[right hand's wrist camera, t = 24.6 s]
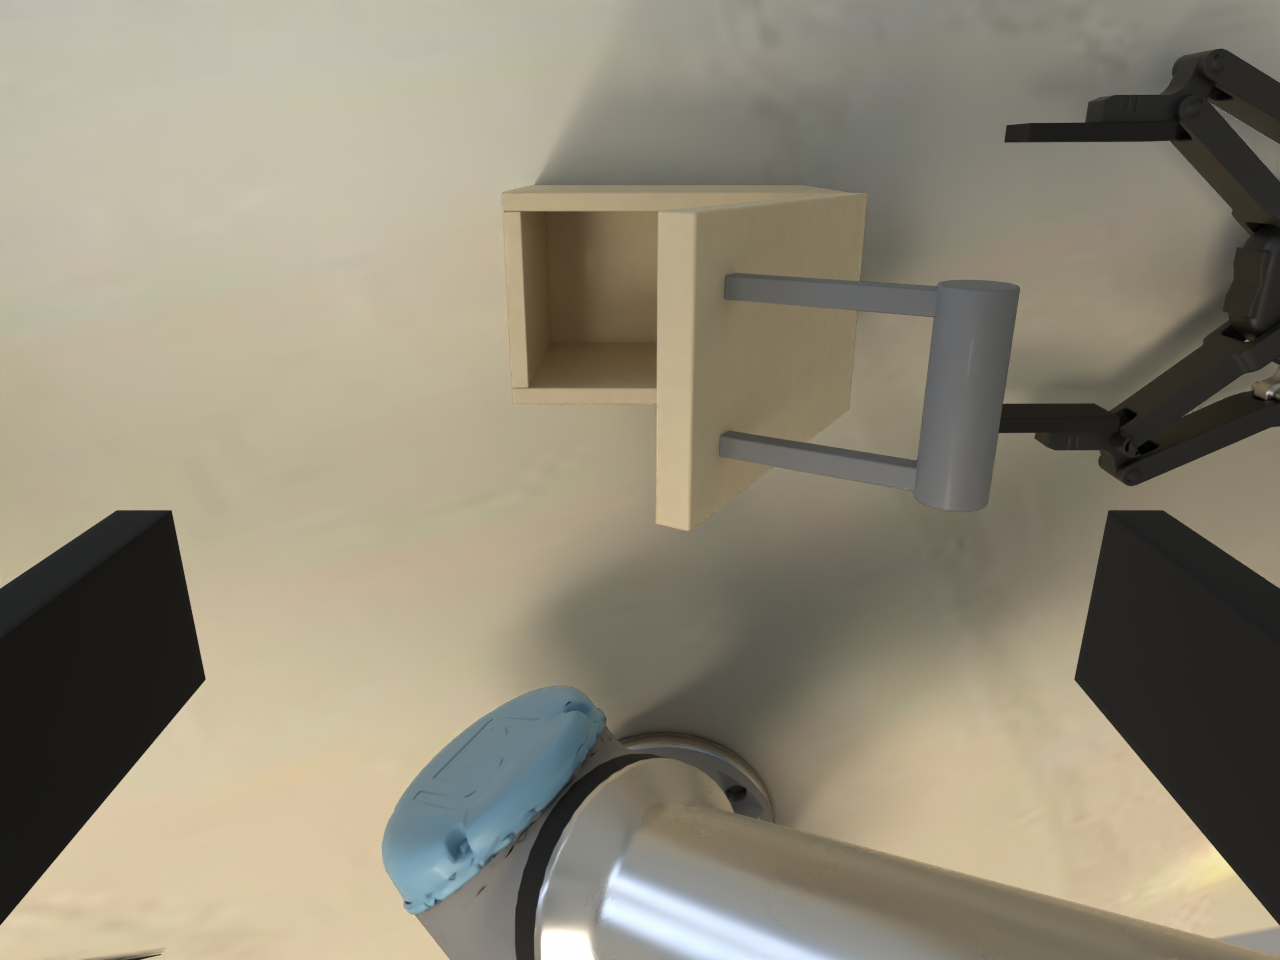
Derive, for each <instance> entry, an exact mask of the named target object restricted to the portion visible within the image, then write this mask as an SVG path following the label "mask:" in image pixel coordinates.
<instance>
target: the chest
mask: <svg viewBox="0 0 1280 960" xmlns="http://www.w3.org/2000/svg"><path fill="white" fill-rule="evenodd" d="M833 193H849V192H844V191H838V190H832V189H825V188H819V187H813V186H807V185H531V186H527V187H523V188H518V189H514V190H510V191H506V192H503V193H502V209H503V211H504V212H503V230H504V249H505V268H506V287H507V307H508V326H509V345H510V364H511V383H512V401H513V404H657V274H658V212H659V211H661V210H671V209H682V208H692V207H702V206H712V205H722V204H732V203H742V202H752V201H762V200H772V199H782V198H792V197H803V196H813V195H823V194H833Z"/></svg>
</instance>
